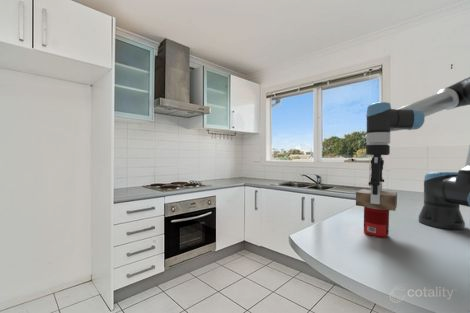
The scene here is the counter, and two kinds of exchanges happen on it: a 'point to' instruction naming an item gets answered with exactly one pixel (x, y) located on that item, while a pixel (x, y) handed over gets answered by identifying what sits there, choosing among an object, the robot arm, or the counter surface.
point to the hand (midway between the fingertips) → (376, 200)
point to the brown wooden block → (386, 199)
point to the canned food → (376, 222)
